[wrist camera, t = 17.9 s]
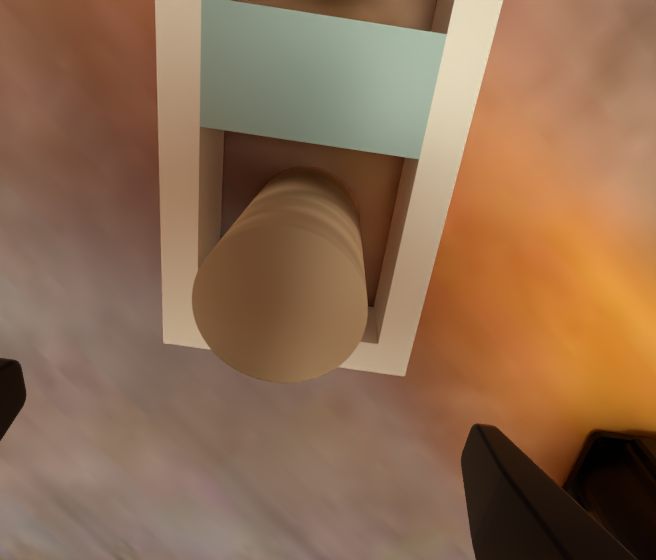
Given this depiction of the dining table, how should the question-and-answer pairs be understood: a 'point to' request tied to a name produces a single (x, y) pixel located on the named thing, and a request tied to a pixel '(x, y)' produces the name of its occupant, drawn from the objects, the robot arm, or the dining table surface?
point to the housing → (315, 132)
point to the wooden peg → (286, 281)
